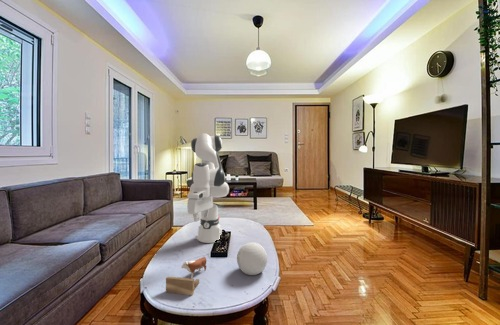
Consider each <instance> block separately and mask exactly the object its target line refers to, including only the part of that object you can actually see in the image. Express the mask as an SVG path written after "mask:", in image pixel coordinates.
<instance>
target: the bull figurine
mask: <svg viewBox="0 0 500 325" xmlns="http://www.w3.org/2000/svg"><path fill="white" fill-rule="evenodd" d="M207 261H208V260H207V258H206V257H205V256H203V257H200V258H198V259H195V260H189V261H187V260H185V261H184V262H183V263H182V265H181V266H180V267H181V269H185V270H187V271H188V272H189V273H190V276H191V277H190V279H194V275H195V274H194V273H195V271H196V270H197V272H201V270H202V269H203V271H204V272H206V271H207V265H206V264H207Z"/></svg>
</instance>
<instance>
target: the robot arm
mask: <svg viewBox="0 0 500 325" xmlns="http://www.w3.org/2000/svg"><path fill="white" fill-rule="evenodd" d="M190 147H191V150H192V152H193V153H195V156H196V157H197V158H198V159H200V160H201V162H199V163H198V162H197V163H195V164H194V166H193V171H192V172H191V183H192V184H191V185H190V187H189V193H187V195H186V196H187V203H186V204H187V213H188V214H189V215H192V217H193V221H194V222H199V218H200V224H199V226H198V229H197V230H198V231H197V236H195V239H196V240H197V241H199V242H200V243H203V244H205V243H207V244H208V243H209V244H213V243H216V242H215V241H216V240H219V239H220V235H221V234H222V232H223V229H222V228H223V227H222V225H221V224H220V216H219V207H218V205H217V204H215V203H214V199H216V198H218V199H219V198H223V197H227V195H229V193H230V187H229V184H228V183H227V182H226V175H225V174H226V173H225V172H224V168H223V165H222V162H221V158H220V154H219V152H220V151H221V150H222V148H223V139H222V138H221V137H220V136H219V135H211V136H210V135H209V134H208V133H206V132H203V133H200V134H199V135H198V136H197V137H195V138H193V139H192V140H191V142H190ZM198 213H200V217H198V215H199V214H198Z"/></svg>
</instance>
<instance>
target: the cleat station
mask: <svg viewBox="0 0 500 325" xmlns="http://www.w3.org/2000/svg"><path fill="white" fill-rule="evenodd" d="M199 284H200V279H199V278H196V279H194V278H189V277H188V278H186V277H180V276H179V277H176V276H167V277H166V278H165V293H169V294H177V295H185V296H193V295H194V294H195V289H196V288H197V287H198V286H199Z"/></svg>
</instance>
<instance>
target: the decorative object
mask: <svg viewBox="0 0 500 325" xmlns="http://www.w3.org/2000/svg"><path fill="white" fill-rule="evenodd" d="M236 261H237V262H236V263H237V265H238V268H239V270H241V271H242V272H243V274H245V275H249V276H256V275H259V274H260V273H262V272H263V270H265V268H266V266H267V263H268V254H267V251H266V249H265V248H264V247H263V246H262V245H261V244H260V243H258V242H254V241H253V242H252V241H251V242H247V243H245V244H243V245H242V246H241V247H240V248H239V250H238V251H237V256H236Z"/></svg>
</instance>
